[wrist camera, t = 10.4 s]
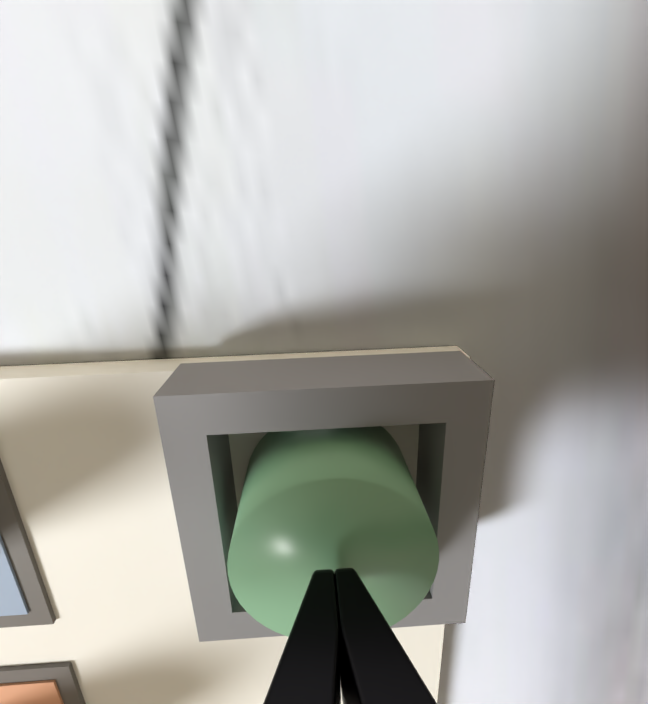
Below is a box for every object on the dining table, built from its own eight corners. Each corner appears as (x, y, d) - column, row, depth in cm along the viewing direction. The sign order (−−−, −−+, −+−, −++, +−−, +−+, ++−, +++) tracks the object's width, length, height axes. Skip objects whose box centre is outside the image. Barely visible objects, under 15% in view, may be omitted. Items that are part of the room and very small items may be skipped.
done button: (408, 404, 11) (446, 471, 8) (402, 537, 12) (432, 635, 9) (238, 413, 11) (214, 485, 8) (253, 547, 12) (238, 649, 9)
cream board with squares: (457, 339, 12) (508, 379, 9) (423, 745, 18) (446, 846, 15) (-344, 374, 11) (-577, 431, 8) (-83, 788, 17) (-161, 903, 14)
